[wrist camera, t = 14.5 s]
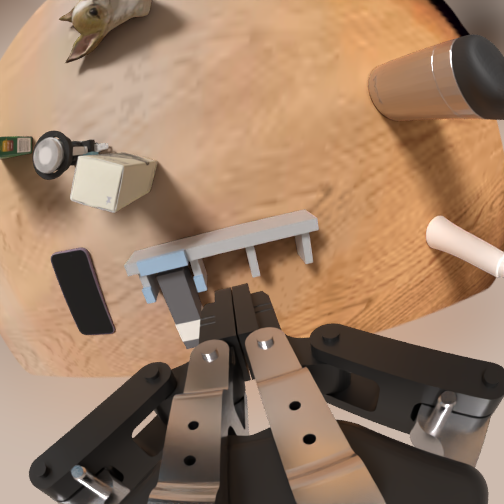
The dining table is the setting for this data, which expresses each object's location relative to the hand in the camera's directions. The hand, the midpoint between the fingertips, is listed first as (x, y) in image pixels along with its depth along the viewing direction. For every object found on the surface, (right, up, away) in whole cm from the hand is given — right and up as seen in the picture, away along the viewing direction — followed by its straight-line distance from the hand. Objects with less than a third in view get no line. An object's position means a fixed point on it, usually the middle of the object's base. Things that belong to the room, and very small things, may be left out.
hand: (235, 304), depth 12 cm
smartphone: (-26, -4, +26) cm, 37 cm away
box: (-14, +13, +21) cm, 28 cm away
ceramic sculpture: (-19, +35, +12) cm, 41 cm away
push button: (-21, +16, +19) cm, 32 cm away
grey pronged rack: (-3, +3, +25) cm, 26 cm away
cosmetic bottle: (+33, +6, +29) cm, 45 cm away
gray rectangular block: (-9, -4, +27) cm, 29 cm away
